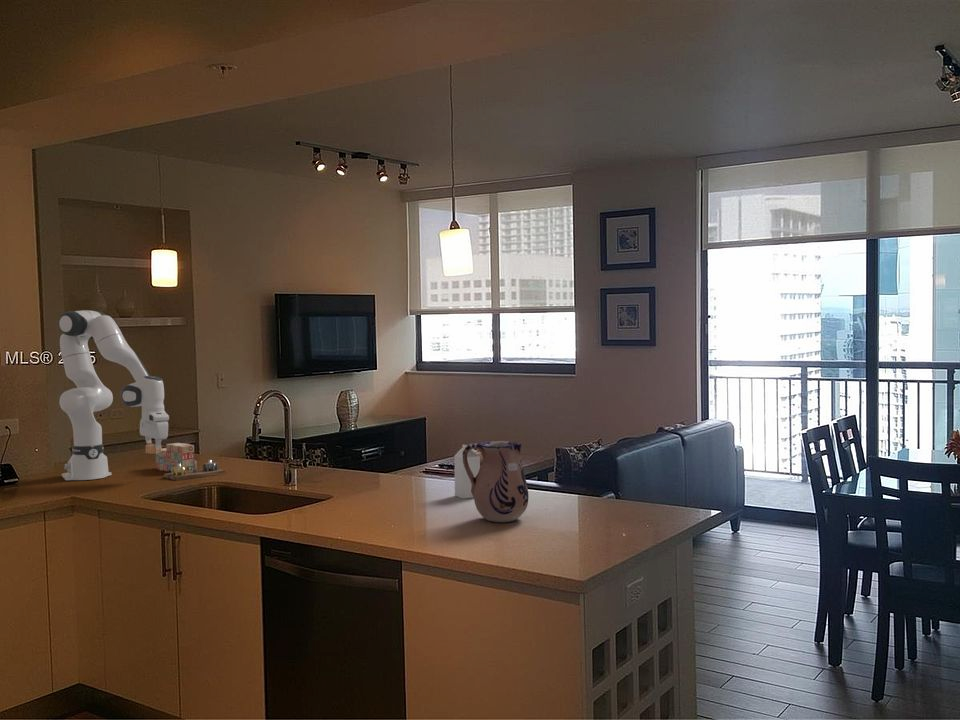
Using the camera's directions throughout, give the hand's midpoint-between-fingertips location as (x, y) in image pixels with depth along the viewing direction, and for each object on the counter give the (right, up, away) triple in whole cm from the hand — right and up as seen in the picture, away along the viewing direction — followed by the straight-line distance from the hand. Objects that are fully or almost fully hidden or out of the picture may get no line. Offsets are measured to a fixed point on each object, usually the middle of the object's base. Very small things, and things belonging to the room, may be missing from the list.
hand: (153, 448), depth 352 cm
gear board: (+13, -13, +14) cm, 23 cm away
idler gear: (0, -2, 0) cm, 2 cm away
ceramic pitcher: (+141, -15, -78) cm, 162 cm away
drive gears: (+13, -12, +14) cm, 22 cm away
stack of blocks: (-1, -13, +28) cm, 31 cm away
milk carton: (+131, -14, -39) cm, 138 cm away
